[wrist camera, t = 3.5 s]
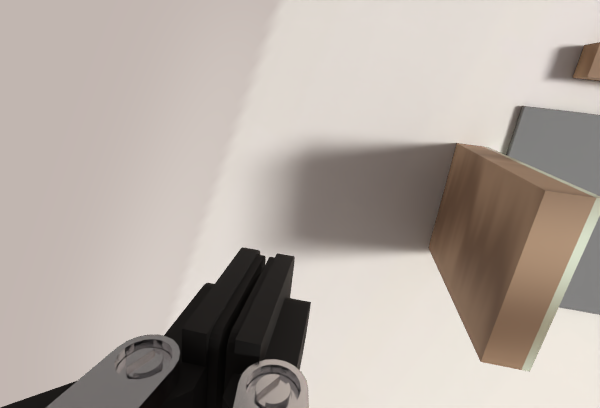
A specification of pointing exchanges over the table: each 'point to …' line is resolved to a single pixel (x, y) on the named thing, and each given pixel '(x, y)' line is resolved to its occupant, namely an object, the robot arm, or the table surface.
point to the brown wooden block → (508, 249)
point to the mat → (571, 168)
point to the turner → (589, 63)
